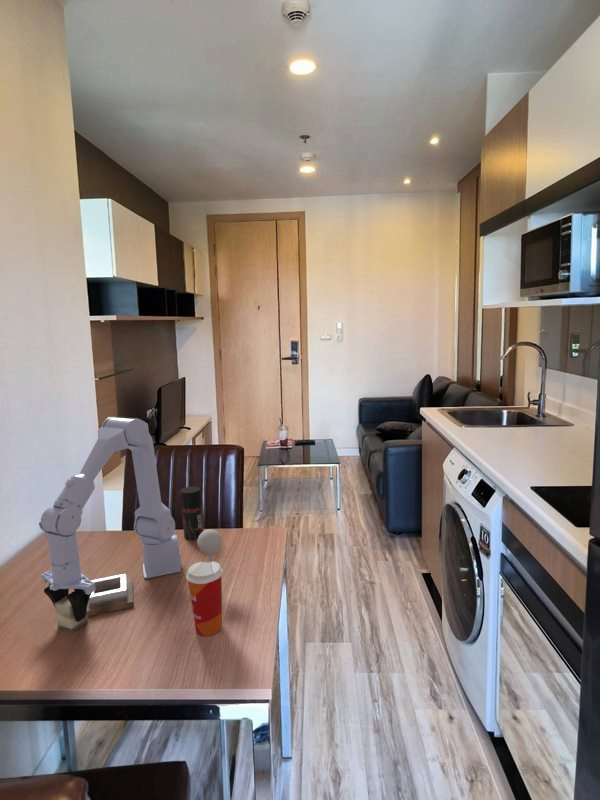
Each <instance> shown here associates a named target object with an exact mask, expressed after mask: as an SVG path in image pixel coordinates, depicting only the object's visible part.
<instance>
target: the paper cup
mask: <svg viewBox="0 0 600 800" xmlns="http://www.w3.org/2000/svg"><path fill="white" fill-rule="evenodd" d="M223 574H224V571H223V569H222V567H221V564H219V563H218V562H216V561H213V560H212V562H210V561H204V562H203V561H200V562H196V563H194V564H192V565H191V566H189V568H188V569H187V573H186V575H185V579H186V580H187V581H188V582H187V583H188V589H189V595H190V596H189V597H190V603H191V610H192V614H193V615H192V616H193V621H194V623H193V624H194V626H195V627H194V628H195V632H196V635H199V636H201V637H212V636H215V635H217V634H219V633H220V632H221V630H222V626H223V601H222V600H223V599H222V598H223V596H222V593H223V591H222V589H223V588H222V576H223Z"/></svg>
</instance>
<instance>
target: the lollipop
mask: <svg viewBox="0 0 600 800" xmlns="http://www.w3.org/2000/svg"><path fill="white" fill-rule="evenodd" d="M196 540H197V541H196V545H197V547H198V549H199V550H200V551H201V552H202V553H203V554H205V555H209V562H212V561H213V556H212V555H213V554H215V553H216V552H218V551H219V550H220V548H221V546H222V543H223V542H222V541H223V538H222V536H221V534H220V533H219V532H218V531H217V530H216V529H206V530H203V532H202V533H201V534H200V535H199V537H198V539H196Z"/></svg>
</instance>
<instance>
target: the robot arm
mask: <svg viewBox="0 0 600 800" xmlns="http://www.w3.org/2000/svg"><path fill="white" fill-rule="evenodd" d="M127 449H129V450H130V451H131V456H132V464H133V469H134V476H135V483H136V490H137V495H138V497H137V498H138V501H139V502H138V503H139V507H138V508H137V509H136V510H135V511H134V523H133V531H134V532H135V535H138V536H139V540H141V542H142V543H141V546H142V556H143V564H142V572H143V579H146V580H147V579H151V578H157V577H160V576H161V577H162V576H166V575H170V574H171V575H172V574H175V573H181V571H182V568H181V560H182V559H181V554H180V545H179V539H178V535H177V534H174V533H175V531H176V522H175V519H174V517H173V516H172V511H171V510H170V509H169V508H168V507H167V506H166V505H165V504H164V503H163V502H162V497H161V490H160V483H159V482H160V481H159V476H158V469H157V461H156V455H155V448H154V442H153V438H152V435H151V434H150V431H149V424H148V422H145V421H144V420H142V419H140V418H125V417H116V416H109V417H107V418H105V420H103V422H102V424H101V426H100V428H99V429H98V430H97V440H96V442H95V444H94V445H93V447H92V449H91V451H90V453H89V455H88V457H87V459H86V460H85V462H84V464H83V466H82V468H81V470H80V471H79V473H77V474H74V475H72V476H70V479H67V480H66V482H65V484H64V485H65V486H64V488H63V489H62V490H61V492H60V494H59V496H58V497H57V498H56V500H55V501H54V502H53V504H52V506H49V507H47V508H46V510H44V511H43V513H42V515H41V518H40V521H39V522H38V526H39V529H40V530H42V531H43V532H44V533H45V538H46V540H47V546H48V554H49V561H50V562H49V563H50V568H51V570H48V571H45V572H43V573H41V574H40V577H41V583H43V584H47V583H48V586H47V587H45V588H44V589H43V592H44V594H45V595H46V596H47V597H48V599H50V601H51V602H52V605H53V607H54V608H55V603H56V602H58V601H59V600H61V599H62V598H64V597H66V598H67V599H68V600H69V602H70V603H71V605H72V608H73V612H74V617H75V620H76V621H77V622H79V621H81V620H82V619H84V618H85V617H86V611H87V605H88V601H89V598H90V596H91V593H92V592H94V591H95V590H96V588H95V582H92V581H91V580H90V579H89V578H88V577H86V575H84V574H83V573H82V569H81V560H80V552H79V545H78V539H77V538H78V537H77V531H78V529H79V528H80V526H81V524H82V515H83V514H84V513H83V510H84V508H85V506H86V505H87V502H88V500H89V499H90V497H91V496H92V494H93V492H94V491H95V488H96V485H95V479H96V477H97V476H98V475H99V473H100V472H101V471H102V469H103V468H104V466H105V465H106V464H107V462H108V460H109V459H110V458H111V456H112V455H113V454H114V453H116V452H120V451H123V450H127ZM70 590H73V591H72V592H70V593H69V591H70Z"/></svg>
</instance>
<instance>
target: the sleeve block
mask: <svg viewBox="0 0 600 800" xmlns="http://www.w3.org/2000/svg"><path fill="white" fill-rule="evenodd" d="M54 609H55V616H56V622H57V628H58V629H60V628H61V629H60V630H63V631H66V630H67V632H70V633H74V632H75V631H77V630H78V629H79V628H81V627H82V626H83V624H84V625H85V624H87V623H88V622H89V616H88V615H87V611H86V617H85V618H84V619H82V620H81V621H79V622H77V621H76V620H75V617H74V612H73V608H72V605H71V603H70V602H69V600H68V599H67V598H66V597H64V598H62V599H61V600H59V601H58V602H56V603H55V607H54ZM80 626H81V627H80ZM77 628H78V629H77Z"/></svg>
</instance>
